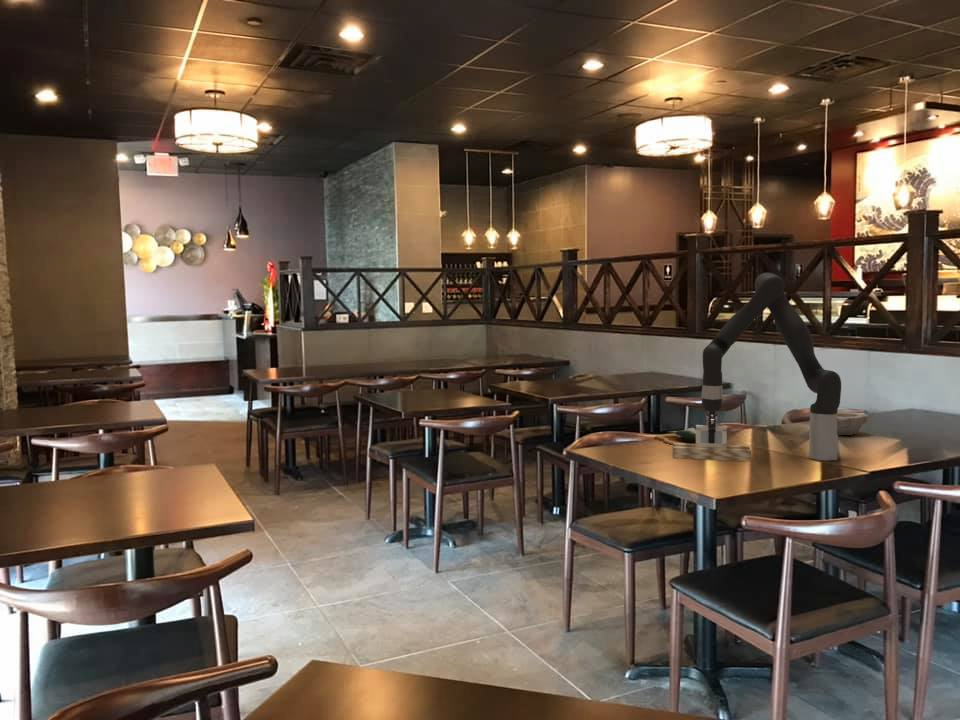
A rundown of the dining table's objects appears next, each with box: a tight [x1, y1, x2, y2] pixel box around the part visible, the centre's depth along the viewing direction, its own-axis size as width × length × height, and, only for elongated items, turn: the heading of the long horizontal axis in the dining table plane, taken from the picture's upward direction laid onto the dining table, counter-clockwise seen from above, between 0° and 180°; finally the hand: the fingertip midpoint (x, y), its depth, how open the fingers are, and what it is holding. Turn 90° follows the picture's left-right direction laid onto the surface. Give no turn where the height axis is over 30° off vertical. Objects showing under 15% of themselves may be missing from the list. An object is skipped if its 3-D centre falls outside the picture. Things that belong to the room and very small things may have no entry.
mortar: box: [837, 411, 870, 436], centre depth 329 cm, size 17×17×9 cm
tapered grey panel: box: [695, 424, 728, 448], centre depth 283 cm, size 11×3×8 cm, turn 75°
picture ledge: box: [672, 443, 752, 462], centre depth 283 cm, size 28×10×4 cm, turn 75°
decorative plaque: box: [653, 427, 696, 446], centre depth 311 cm, size 30×7×20 cm
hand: (711, 442), depth 283 cm, fingers closed on tapered grey panel, 2 cm apart
